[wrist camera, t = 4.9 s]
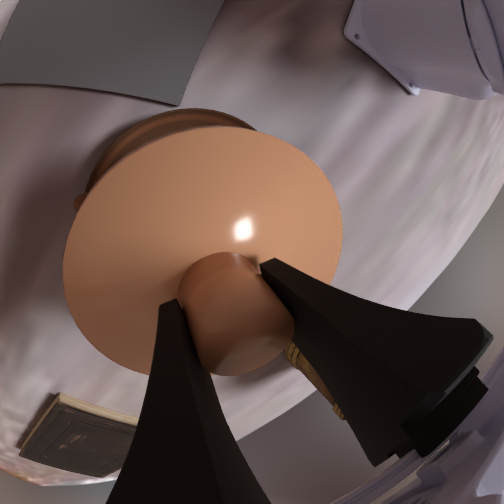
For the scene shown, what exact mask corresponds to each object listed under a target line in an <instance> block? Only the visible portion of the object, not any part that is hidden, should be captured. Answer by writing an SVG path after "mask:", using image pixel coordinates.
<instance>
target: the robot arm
mask: <svg viewBox="0 0 504 504" xmlns="http://www.w3.org/2000/svg"><path fill="white" fill-rule="evenodd" d="M344 35H345V37H346V38H347V39H349V40H350V41H351V42H353V43H354V44H355V45H357V46H358V47H359V48H361V49H362V50H363V51H364V52H366V53H367V54H368V55H369V56H371V57H372V58H373V59H374V60H375V61H377V62H378V63H379V64H380V65H381V66H382V67H383V68H385V69H386V70H387V71H388V72H389V73H390V74H391V75H392V76H393V77H394V78H396V79H397V80H398V81H399V82H400V83H401V84H402V85H403V86H404V87H405V88H406V89H407V90H408V91H409V92H410V93H411V94H412V95H413V96H418V94H419V91H420V88H422V89H428V90H433V91H439V92H444V93H448V94H453V95H457V96H461V97H465V98H469V99H475V100H483V99H488V98H491V97H493V96H495V95H496V94H498V93H499V94H502V95H504V0H355V1H354V4H353V6H352V9H351V12H350V14H349V17H348V20H347V23H346V25H345V28H344ZM355 36H356V38H355ZM259 266H260V271H261V275H262V277H263V278H264V279H265V281H266V282H267V283H268V285H269V286H270V287H271V289H272V290H273V291H274V292H275V294H276V295H277V296H278V298H279V299H280V300H281V302H282V303H283V304H284V306H285V307H286V308H287V310H288V311H289V312H290V314H291V315H292V316H293V319H294V322H295V330H294V334H293V336H292V339H291V341H292V342H293V343H294V344H295V346H296V347H297V348H298V350H299V351H300V352H301V353H302V355H303V356H304V357H305V358H306V360H307V361H308V362H309V363H310V365H311V366H312V367H313V368H314V370H315V371H316V373H317V374H318V375H319V377H320V378H321V380H322V381H323V383H324V384H325V386H326V388H327V389H328V391H329V392H330V394H331V395H332V397H333V399H334V400H335V402H336V404H337V405H338V407H339V408H340V410H341V412H342V413H343V415H344V417H345V418H346V420H347V422H348V424H349V425H350V427H351V429H352V430H353V432H354V434H355V436H356V437H357V439H358V441H359V443H360V445H361V446H362V448H363V450H364V452H365V454H366V456H367V458H368V460H369V461H370V462H371V463H372V465H373V466H374V467H376V466H377V465H379V464H381V463H382V462H384V461H385V460H387V459H388V458H390V457H391V456H392V455H394V454H395V453H396V454H397V456H398V457H399V458H400V459H399V460H397V461H396V462H395V463H394V464H392V465H391V466H390V467H388V468H387V469H386V470H384V471H383V472H381V473H380V474H378V475H377V476H375V477H374V478H372V479H371V480H369V481H368V482H366V483H365V484H363V485H362V486H360V487H358V488H357V489H355V490H353V491H352V492H350V493H348V494H347V495H345V496H343V497H341V498H339V499H338V500H336V501H334V502H332V503H330V504H369V503H370V502H372V501H373V500H375V499H376V498H378V497H380V496H381V495H383V494H384V493H385V492H387V491H388V490H390V489H391V488H393V487H394V486H395V485H396V484H398V483H399V482H401V481H402V480H403V479H405V478H406V477H407V476H408V475H410V474H411V473H412V472H413V471H414V470H416V469H417V468H418V467H419V466H421V465H422V464H423V463H424V462H425V461H426V460H427V461H426V463H424V465H423V466H422V467H421V468H420V469H419V470H418V471H417V473H416V475H417V476H418V477H417V478H416V479H415V480H413V481H412V482H411V483H409V484H408V485H406V486H405V487H404V488H402V489H401V490H400V491H398V492H396V493H395V494H393V495H392V496H390V497H389V498H387V499H386V500H384V501H382V502H381V503H379V504H504V346H503V348H502V349H501V350H500V352H499V353H498V354H497V356H496V357H495V359H494V360H493V362H492V363H491V365H490V368H489V369H488V370H487V372H486V373H485V374H484V375H483V377H482V378H481V379H479V378H478V377H477V375H478V374H479V370H478V369H477V368H476V367H475V364H476V363H477V362H478V360H479V359H480V357H481V356H482V355H483V354H484V352H485V351H486V349H487V348H488V347H489V345H490V344H491V342H492V341H493V335H492V334H491V333H490V332H489V331H488V330H487V329H486V328H485V327H484V326H482V325H481V324H480V323H479V322H478V321H477V320H476V319H469V318H450V317H439V316H432V315H425V314H419V313H414V312H409V311H405V310H400V309H396V308H392V307H388V306H384V305H381V304H378V303H375V302H372V301H368V300H365V299H362V298H359V297H357V296H354V295H351V294H349V293H347V292H344V291H342V290H339V289H337V288H335V287H332V286H330V285H328V284H326V283H324V282H322V281H320V280H318V279H315V278H313V277H311V276H309V275H307V274H306V273H304V272H302V271H300V270H298V269H296V268H294V267H292V266H290V265H288V264H287V263H285V262H283V261H281V260H279V259H277V258H272V259H270V260H267V261H265V262H263V263H260V264H259ZM448 440H449V441H450V442H449V444H448V445H446V446H445V447H443V448H442V449H440V450H439V451H438V452H436V451H437V450H438V449H439V448H441V446H442V445H444V444H445V442H447V441H448ZM435 452H436V453H435ZM434 453H435V454H434ZM433 454H434V455H433ZM432 455H433V456H432ZM431 456H432V457H431ZM106 504H271V502H270V501H269V499H268V498H267V496H266V494H265V493H264V491H263V490H262V488H261V487H260V485H259V483H258V481H257V480H256V478H255V476H254V474H253V473H252V471H251V469H250V467H249V466H248V464H247V462H246V460H245V458H244V456H243V454H242V453H241V451H240V449H239V447H238V445H237V443H236V441H235V439H234V437H233V435H232V433H231V430H230V428H229V426H228V424H227V422H226V420H225V417H224V414H223V412H222V409H221V406H220V403H219V400H218V397H217V394H216V391H215V387H214V384H213V381H212V378H211V375H210V372H209V371H207V370H206V369H205V368H204V367H203V366H202V364H201V362H200V359H199V356H198V354H197V351H196V348H195V346H194V343H193V340H192V337H191V334H190V331H189V328H188V325H187V322H186V319H185V316H184V313H183V310H182V308H181V306H180V304H179V302H178V300H177V298H175V299H173V300H170V301H168V302H165V303H163V304H160V306H159V308H158V322H157V331H156V339H155V345H154V352H153V359H152V364H151V369H150V375H149V380H148V385H147V389H146V394H145V398H144V402H143V406H142V410H141V413H140V417H139V420H138V423H137V427H136V430H135V433H134V436H133V439H132V442H131V445H130V448H129V450H128V453H127V456H126V458H125V461H124V464H123V466H122V469H121V471H120V474H119V476H118V478H117V481H116V483H115V485H114V487H113V489H112V491H111V493H110V495H109V498H108V500H107V502H106Z"/></svg>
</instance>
